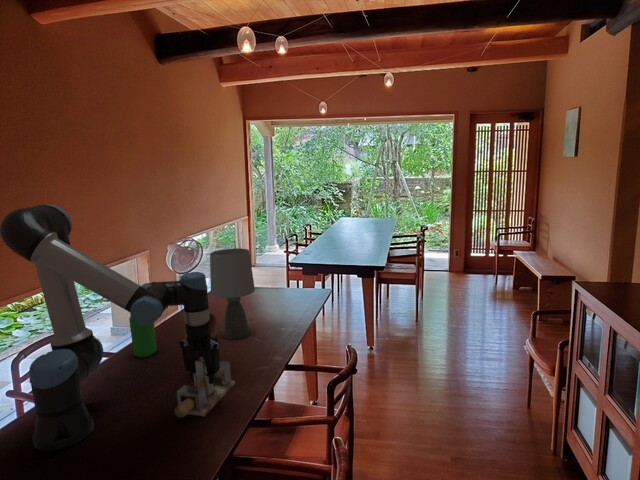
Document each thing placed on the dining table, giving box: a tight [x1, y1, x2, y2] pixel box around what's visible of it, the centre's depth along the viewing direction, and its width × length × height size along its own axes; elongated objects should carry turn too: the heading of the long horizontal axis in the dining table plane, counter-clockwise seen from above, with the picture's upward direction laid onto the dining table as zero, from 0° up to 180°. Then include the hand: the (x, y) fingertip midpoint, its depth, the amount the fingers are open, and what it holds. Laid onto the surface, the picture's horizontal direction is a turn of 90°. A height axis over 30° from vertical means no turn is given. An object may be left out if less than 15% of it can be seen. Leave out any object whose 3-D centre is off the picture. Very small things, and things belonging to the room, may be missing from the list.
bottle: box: [128, 315, 158, 358], centre depth 181 cm, size 9×9×25 cm
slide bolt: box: [174, 357, 216, 419], centre depth 140 cm, size 18×4×12 cm, turn 164°
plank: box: [187, 380, 236, 417], centre depth 146 cm, size 20×10×1 cm, turn 164°
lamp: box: [209, 247, 256, 340], centre depth 196 cm, size 19×19×37 cm
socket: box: [214, 360, 232, 386], centre depth 153 cm, size 4×7×7 cm, turn 74°
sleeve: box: [176, 385, 207, 412], centre depth 138 cm, size 4×7×6 cm, turn 74°
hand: (204, 391), depth 145 cm, fingers closed on slide bolt, 4 cm apart
